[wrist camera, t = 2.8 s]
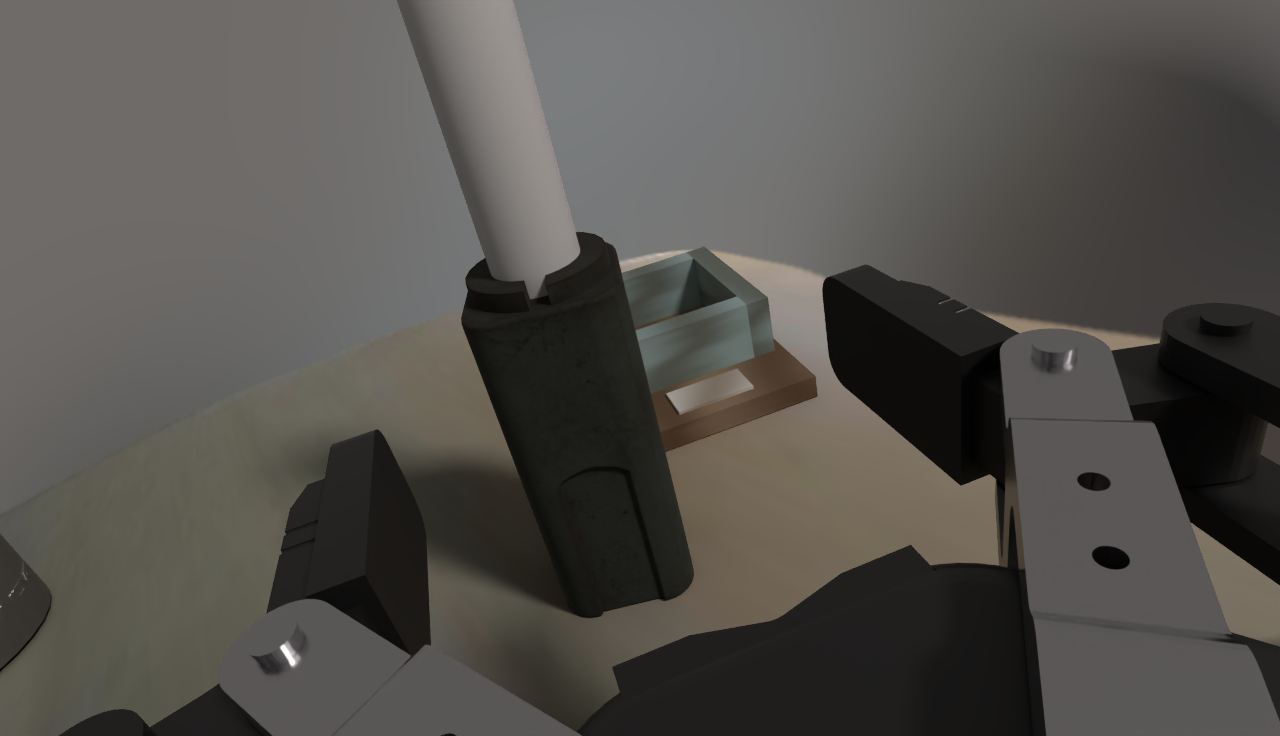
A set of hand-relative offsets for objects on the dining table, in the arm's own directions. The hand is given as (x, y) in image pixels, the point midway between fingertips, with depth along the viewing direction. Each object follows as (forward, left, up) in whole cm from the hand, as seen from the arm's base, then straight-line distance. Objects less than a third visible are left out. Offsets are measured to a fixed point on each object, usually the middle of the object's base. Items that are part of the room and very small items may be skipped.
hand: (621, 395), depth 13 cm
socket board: (+5, +26, -15) cm, 31 cm away
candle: (0, +11, -15) cm, 19 cm away
